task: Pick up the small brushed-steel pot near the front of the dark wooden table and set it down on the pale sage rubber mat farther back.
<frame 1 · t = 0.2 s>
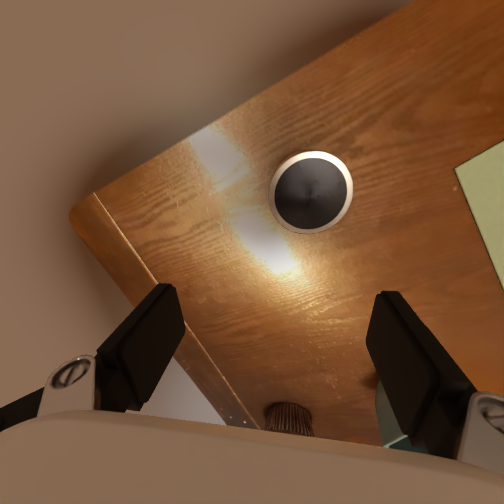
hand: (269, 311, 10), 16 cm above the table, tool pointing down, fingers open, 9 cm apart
steel pot: (304, 184, 23), on the table
cupcake: (288, 413, 42), on the table
flower pot: (402, 374, 33), on the table
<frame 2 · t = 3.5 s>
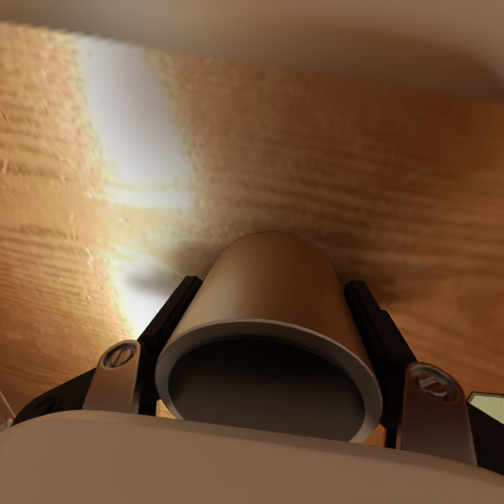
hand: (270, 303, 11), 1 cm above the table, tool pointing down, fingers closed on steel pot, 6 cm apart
steel pot: (271, 289, 12), on the table, touching gripper
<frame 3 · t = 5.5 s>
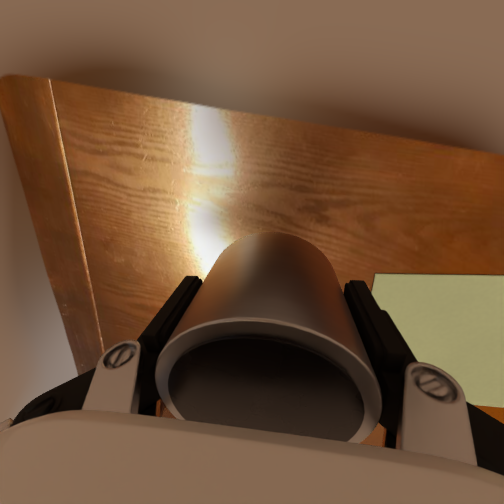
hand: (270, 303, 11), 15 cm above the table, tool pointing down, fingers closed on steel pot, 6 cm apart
steel pot: (271, 289, 12), point 13 cm above the table, touching gripper
trivet mat: (450, 347, 28), on the table
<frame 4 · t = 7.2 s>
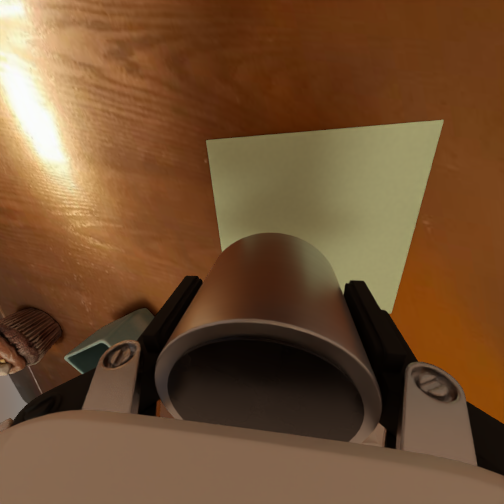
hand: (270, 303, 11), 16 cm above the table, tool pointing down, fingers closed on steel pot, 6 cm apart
steel pot: (271, 290, 12), point 15 cm above the table, touching gripper
cupcake: (42, 323, 40), on the table
flower pot: (146, 321, 36), on the table
trivet mat: (309, 236, 26), on the table
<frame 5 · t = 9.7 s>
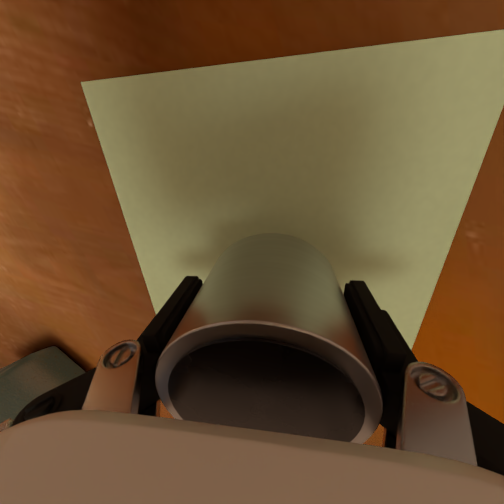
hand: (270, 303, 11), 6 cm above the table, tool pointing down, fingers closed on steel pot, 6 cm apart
steel pot: (271, 290, 12), point 4 cm above the table, touching gripper
flower pot: (62, 361, 26), on the table
trivet mat: (275, 254, 16), on the table
when the fingers open (1 cm above the table, at t = 11.3 s): steel pot stays where it is, resting on trivet mat.
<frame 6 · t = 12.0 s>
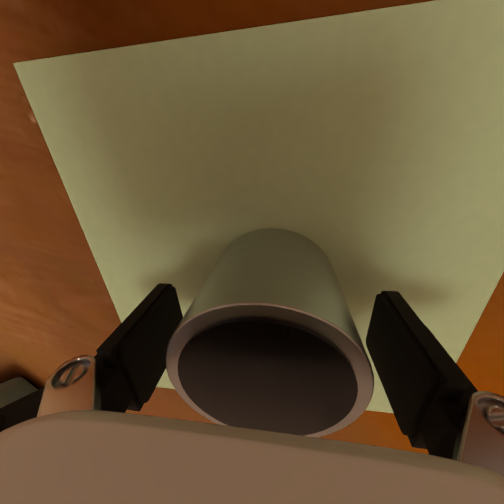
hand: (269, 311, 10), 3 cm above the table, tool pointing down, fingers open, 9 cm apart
steel pot: (272, 284, 12), resting on trivet mat
flower pot: (31, 391, 23), on the table
trivet mat: (272, 282, 13), on the table
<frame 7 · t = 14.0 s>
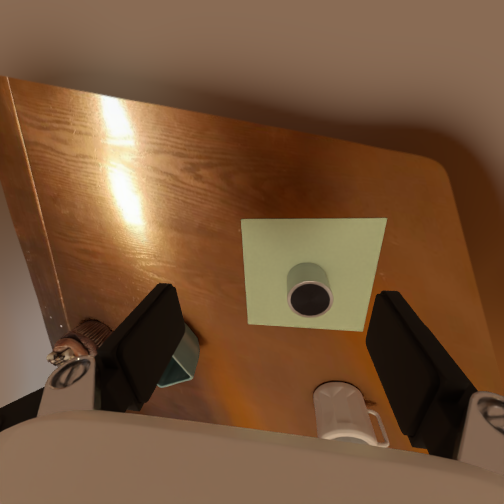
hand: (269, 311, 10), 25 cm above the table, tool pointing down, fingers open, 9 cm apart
steel pot: (306, 279, 38), resting on trivet mat
cupcake: (99, 332, 52), on the table
mug: (343, 396, 49), on the table
flower pot: (183, 332, 48), on the table
trivet mat: (306, 279, 38), on the table
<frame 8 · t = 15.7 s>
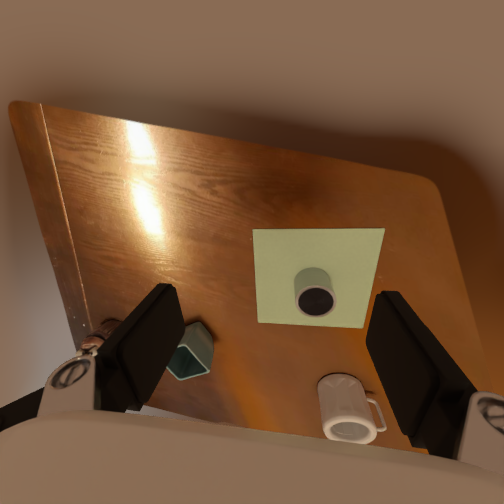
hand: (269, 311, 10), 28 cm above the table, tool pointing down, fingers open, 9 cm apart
steel pot: (311, 282, 42), resting on trivet mat
cupcake: (119, 330, 56), on the table
mug: (344, 386, 54), on the table
flower pot: (197, 330, 52), on the table
trivet mat: (311, 282, 42), on the table
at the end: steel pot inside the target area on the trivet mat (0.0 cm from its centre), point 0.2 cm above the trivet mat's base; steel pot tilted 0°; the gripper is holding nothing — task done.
